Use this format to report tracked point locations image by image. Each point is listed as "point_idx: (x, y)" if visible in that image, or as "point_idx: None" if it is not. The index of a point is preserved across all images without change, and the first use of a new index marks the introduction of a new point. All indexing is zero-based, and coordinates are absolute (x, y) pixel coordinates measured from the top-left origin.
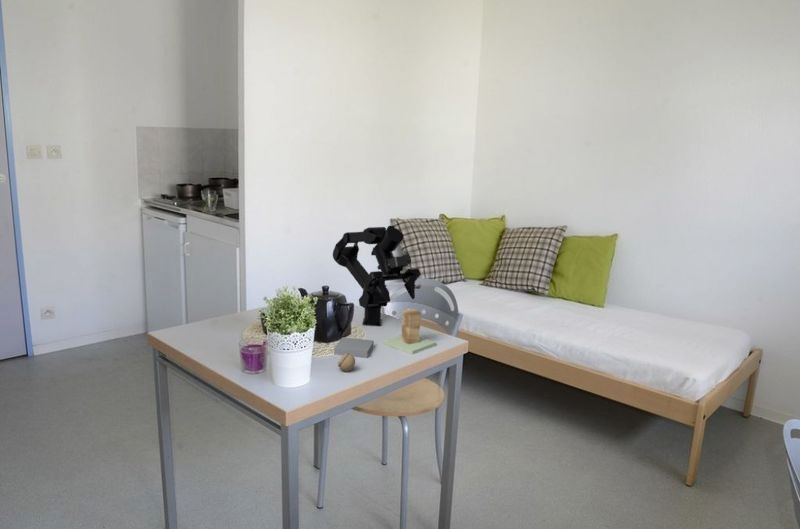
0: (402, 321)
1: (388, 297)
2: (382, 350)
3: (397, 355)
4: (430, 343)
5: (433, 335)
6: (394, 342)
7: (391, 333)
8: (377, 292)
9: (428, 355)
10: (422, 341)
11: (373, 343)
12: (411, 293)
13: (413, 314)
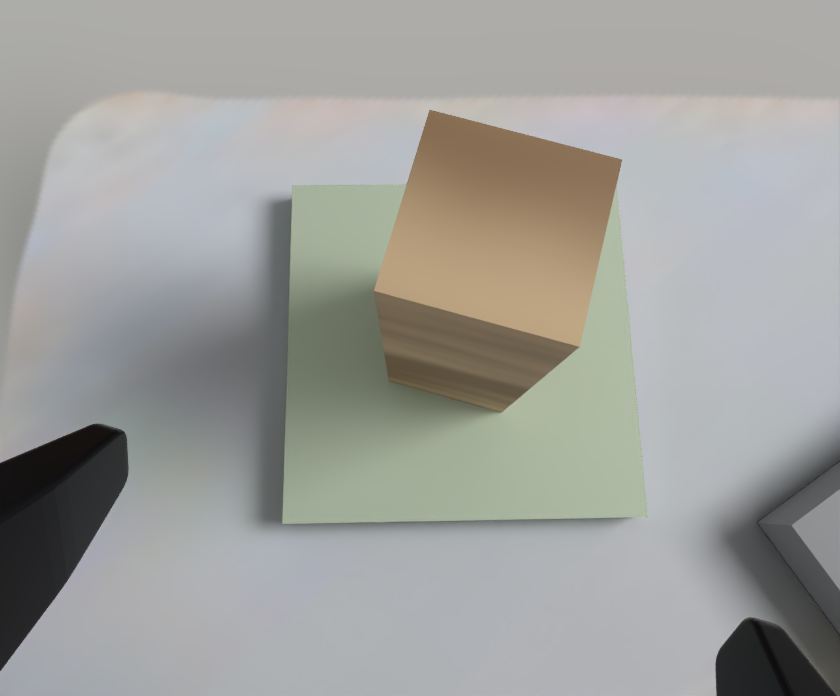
0: (539, 379)
1: (824, 691)
2: (749, 405)
3: (721, 253)
4: (355, 199)
5: (92, 367)
6: (591, 417)
7: (351, 681)
8: None
9: (525, 107)
10: (368, 273)
11: (782, 519)
12: (34, 546)
13: (554, 154)
